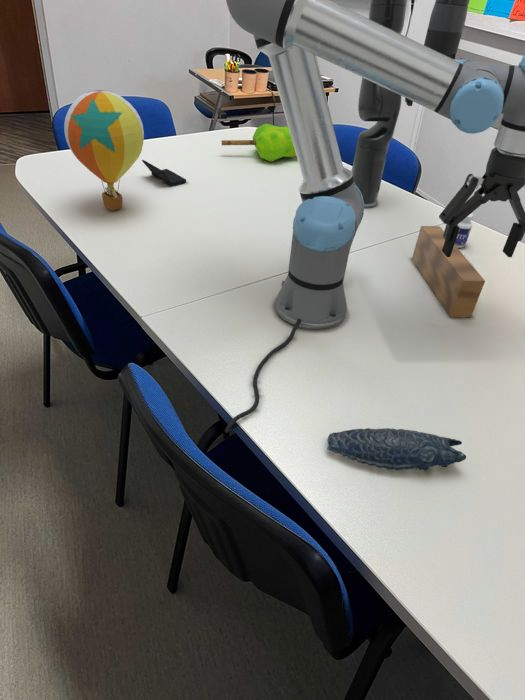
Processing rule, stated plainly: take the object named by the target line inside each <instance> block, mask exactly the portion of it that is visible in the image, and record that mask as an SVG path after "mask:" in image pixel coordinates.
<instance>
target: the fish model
mask: <svg viewBox="0 0 525 700" xmlns="http://www.w3.org/2000/svg"><path fill="white" fill-rule="evenodd" d="M326 440H327V444H328V446H327V451H330V452H333V453H334V454H339V455H340V456H342V457H343V458H344V457H345V458H346V457H347V459H349V460H351V461H356V462H357V463H360V464H366V465H368V466H374V467H376V468H378V469H379V468H380V469H385V470H386V469H387V470H395V471H401V470H411V469H416V470H419V471H427V470H429V469H430V468H433V467H438V466H439V467H441V468H448V467H449V466H451V465H453V464H456V463H461V462H463V461H465V460H466V459H467V455H466V454H465V453H464V452H462V451H461V450H457V449H456V448H454V446H459V445H462V444H463V441H461V440H459V439H455V438H450V437H445V436H440V435H438V434H432V433H427V432H424V431H417V430H412V429H411V430H410V429H405V428H398V429H396V428H388V427H387V428H383V427H382V428H370V427H368V428H353V429H349V430H342V431H337V432H332V433H329V435H328V437H327V439H326Z"/></svg>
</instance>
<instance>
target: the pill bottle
mask: <svg viewBox="0 0 525 700" xmlns="http://www.w3.org/2000/svg"><path fill="white" fill-rule="evenodd" d="M473 217H474V214H473V212H472V213H471V214H470V215H469V216H467V217H466V218H465V219H464V220H463V221H461V222H460V223H459V224H458V227H459V228H460V229H459V232H458V235H457V238H456V241H455V245H456V247H457V248H458V249H461V248H464V247H465V246H466V245H467V242H468V239H469V236H470V233H471V231H472V228H473V223H472V220H473Z"/></svg>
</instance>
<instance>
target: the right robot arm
mask: <svg viewBox="0 0 525 700" xmlns="http://www.w3.org/2000/svg"><path fill="white" fill-rule="evenodd" d="M407 1H408V0H370V1H369V9H368V10H369V11H368V19H370V20H372V21H374V22H376V23H378V24H380V25H382V26H385V27H387V28H389V29H391V30H393V31H395V32H397V33H399V34H401V35H402V33H403V30H404V26H405V19H406V12H407V11H406V10H407ZM470 1H471V0H435V2H434V4H433V8H432V11H431V13H430V17H429V22H428V27H427V30H426V35H425V39H424V43H423V45H424V46H426V47H429V48H431V49H433V50H435V51H437V52H439V53H441V54H443V55H445V56H447V57H449V58H452V59H455V60H456V56H457V53H458V50H459V45H460V43H461V38H462V35H463V31H464V29H465V25H466V21H467V15H468V9H469V4H470ZM458 60H466V59H465V58H463V57H461V58H459V59H458ZM404 102H405V103H406V106H408V107H412V106H413V104H414V102H413V101H411V100H409V99H407V98H405V97H404ZM357 106H358V116H359V118H360V120H361V121H363V122H376V123H375V124H373V126H371V127H370V128H368V129H365V130H362V131H361V132H360V133H359V134H358V136H357V141H356V147H355V153H354V158H353V164H352V167H351V170H350V171H351V172H352V174H353V178H354V182H355V185H356V186H357V187H358V189H359V190H360V192H361V194H362V197H363V201H364V208H372V207H375V206H376V205H377V204H378V197H379V193H380V188H381V184H382V179H383V174H384V170H385V165H386V161H387V156H388V152H389V147H390V144H391V142H392V139H393V137H394V134H395V129H396V125H397V121H398V119H399V116H400V115H399V114H400V111H401V106H402V96H401V95H399V94H397V93H394V92H392V91H390V90H388V89H386V88H384V87H382V86H380V85H378V84H375V83H373V82H371V81H369V80H367V79H365V78H363V77H361V82H360V88H359V95H358V105H357Z"/></svg>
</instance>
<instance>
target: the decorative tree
mask: <svg viewBox="0 0 525 700" xmlns="http://www.w3.org/2000/svg"><path fill="white" fill-rule="evenodd" d="M221 146H254V148H255V150H256V151H257V153H258V155H259V157H260V158H261V159H262V160H265V161H268V162H270V163H271V162H274V161H277V160H279V159H281V158H294V157H297V155H296V152H295V148H294V145H293V141H292V138H291V134H290V131H289V127H288V126H276V125H273V124H269V123H264V124H262V125H260V126H258V127H256V130H255V131H254V133H253V136H252V139H231V140H229V139H226V140H224V139H223V140H221Z"/></svg>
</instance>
